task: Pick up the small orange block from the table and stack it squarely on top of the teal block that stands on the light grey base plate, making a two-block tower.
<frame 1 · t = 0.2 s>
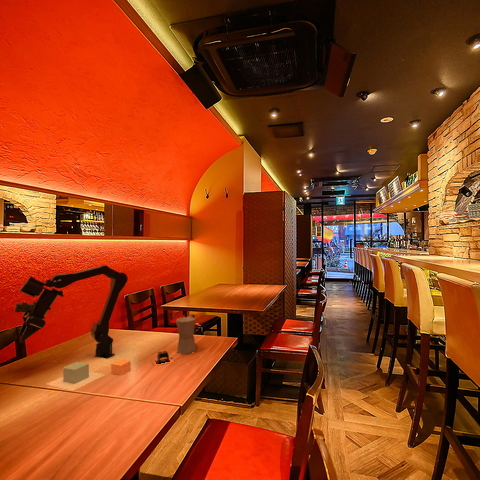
hand: (20, 338, 123), 15 cm above the table, tool tilted 30°, fingers open, 9 cm apart
dark piece: (163, 363, 134), on the table
orange block: (121, 375, 121), on the table
coffeepot: (187, 350, 147), on the table
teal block: (76, 379, 115), point 1 cm above the table, touching base plate
base plate: (76, 382, 115), on the table
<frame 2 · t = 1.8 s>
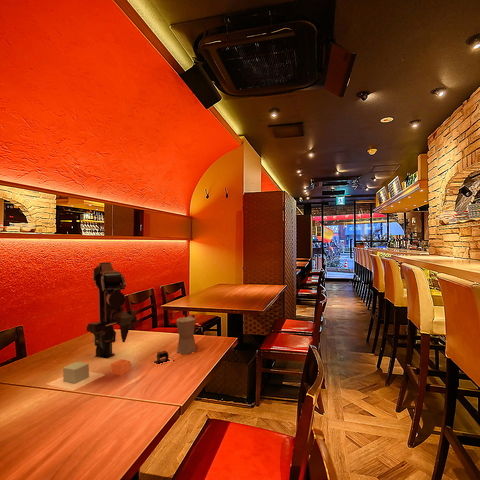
hand: (113, 345, 119), 12 cm above the table, tool pointing down, fingers open, 9 cm apart
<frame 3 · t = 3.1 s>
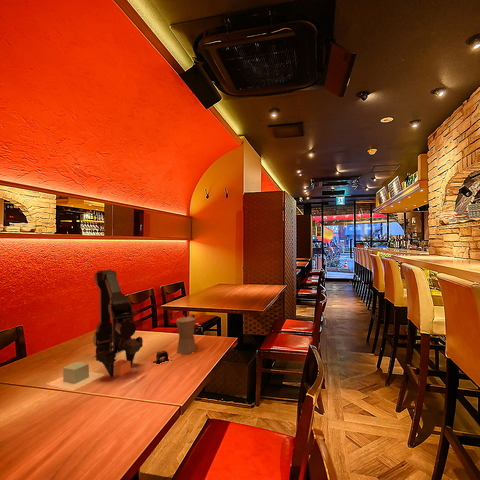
hand: (121, 371, 121), 1 cm above the table, tool pointing down, fingers open, 9 cm apart
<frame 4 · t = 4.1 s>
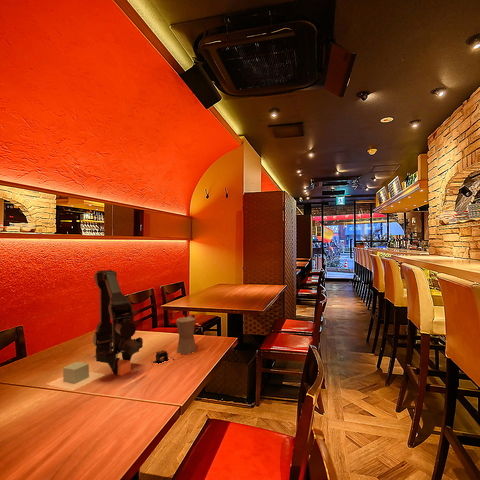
hand: (121, 372, 121), 1 cm above the table, tool pointing down, fingers closed on orange block, 5 cm apart
orange block: (121, 375, 121), on the table, touching gripper
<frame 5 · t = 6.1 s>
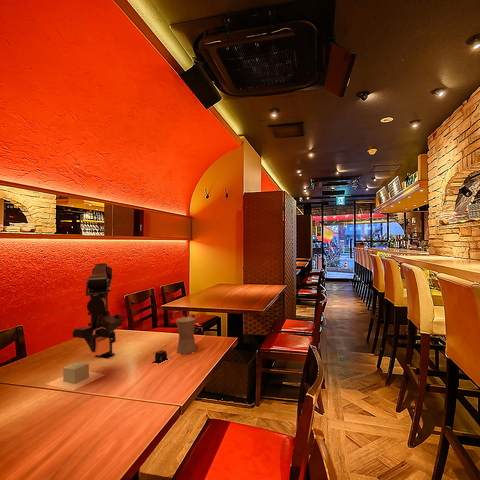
hand: (99, 349, 118), 11 cm above the table, tool pointing down, fingers closed on orange block, 5 cm apart
orange block: (99, 352, 118), point 10 cm above the table, touching gripper
when the fingers open (8 cm above the table, at t = 7.9 s): orange block drops 1 cm, resting on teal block.
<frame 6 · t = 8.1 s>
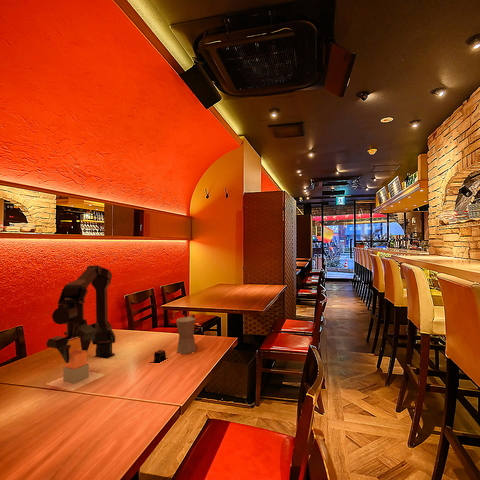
hand: (76, 359, 115), 8 cm above the table, tool pointing down, fingers open, 7 cm apart
orange block: (76, 365, 115), point 6 cm above the table, touching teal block
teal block: (76, 379, 115), point 1 cm above the table, touching base plate, orange block
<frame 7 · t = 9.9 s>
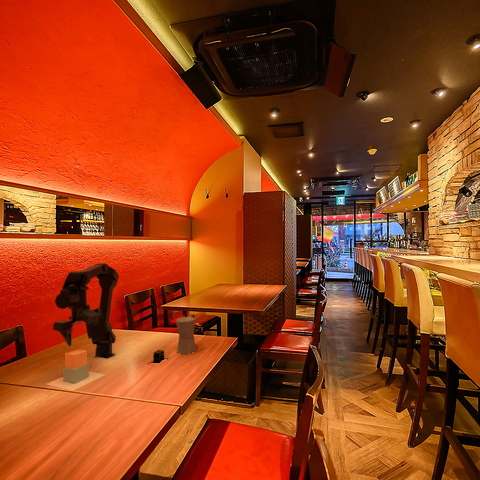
hand: (80, 342, 123), 13 cm above the table, tool pointing down, fingers open, 9 cm apart
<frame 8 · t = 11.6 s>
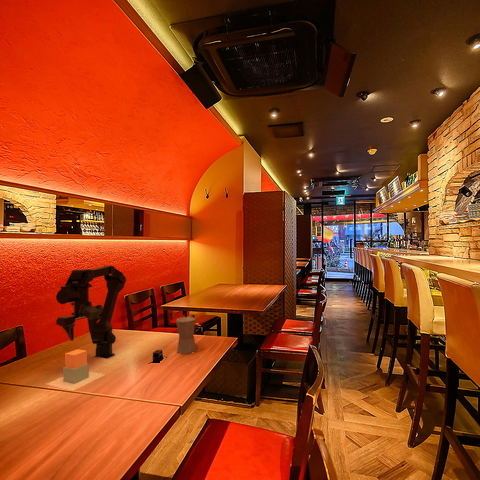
hand: (82, 337, 128), 13 cm above the table, tool pointing down, fingers open, 9 cm apart
at the end: orange block 0.0 cm off-centre on the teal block, point 5.0 cm above the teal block's base; orange block tilted 0°; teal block tilted 0° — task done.
